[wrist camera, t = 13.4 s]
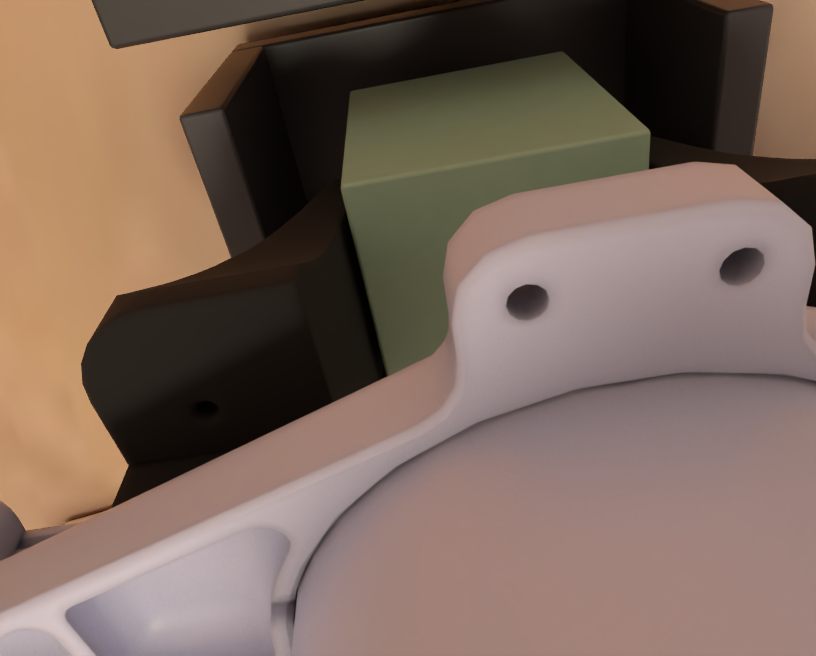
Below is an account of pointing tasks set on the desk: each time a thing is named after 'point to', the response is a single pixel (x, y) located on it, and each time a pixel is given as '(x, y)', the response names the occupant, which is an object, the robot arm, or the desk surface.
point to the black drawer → (432, 55)
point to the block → (464, 173)
